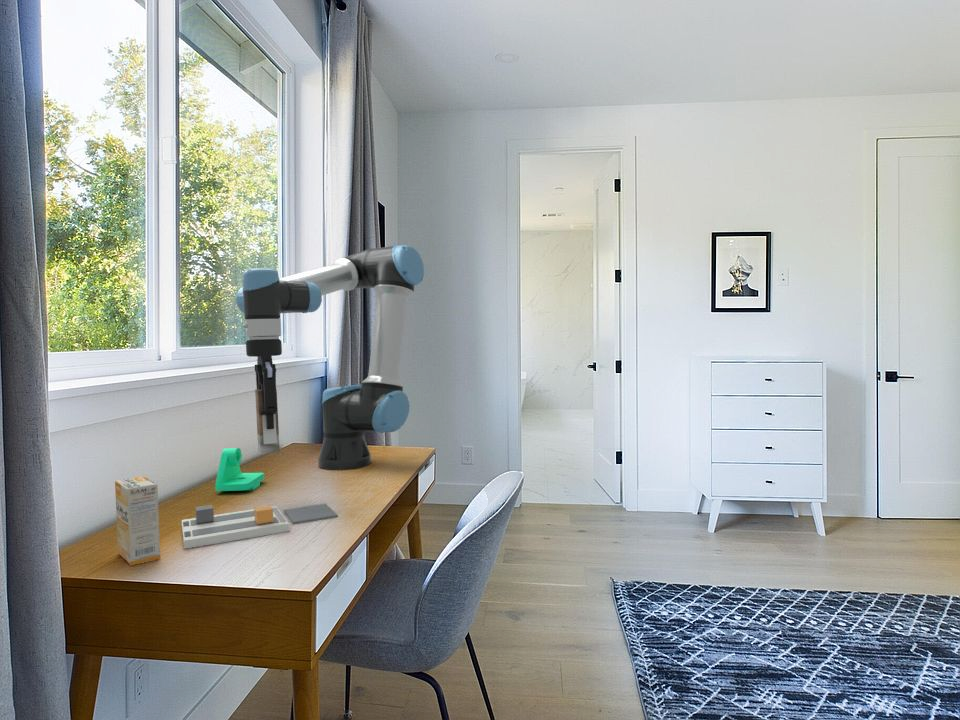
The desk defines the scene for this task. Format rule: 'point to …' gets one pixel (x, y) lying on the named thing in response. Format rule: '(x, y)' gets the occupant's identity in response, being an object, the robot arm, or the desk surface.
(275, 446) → the wooden beam block
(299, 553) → the desk surface
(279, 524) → the switch board
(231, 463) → the camera mount
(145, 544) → the supplement box
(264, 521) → the tab
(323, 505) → the mat
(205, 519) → the tab
